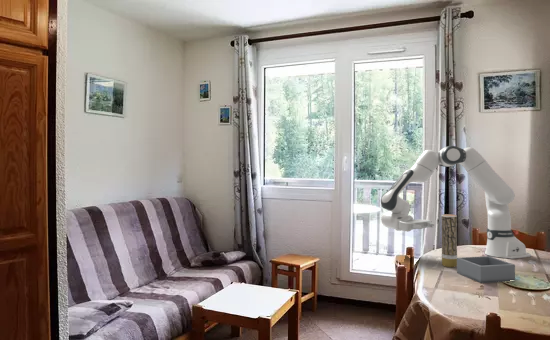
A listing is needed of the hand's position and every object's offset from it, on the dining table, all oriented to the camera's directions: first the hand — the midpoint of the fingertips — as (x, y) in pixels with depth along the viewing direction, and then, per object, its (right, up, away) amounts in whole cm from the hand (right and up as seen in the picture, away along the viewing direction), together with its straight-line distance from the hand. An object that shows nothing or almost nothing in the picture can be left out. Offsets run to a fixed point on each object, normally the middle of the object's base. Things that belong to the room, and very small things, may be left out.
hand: (427, 226), depth 198 cm
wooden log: (+7, -18, -10) cm, 22 cm away
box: (+13, -18, -30) cm, 37 cm away
